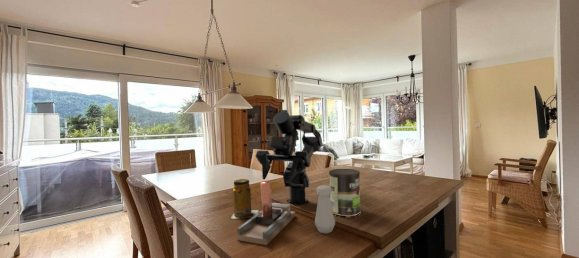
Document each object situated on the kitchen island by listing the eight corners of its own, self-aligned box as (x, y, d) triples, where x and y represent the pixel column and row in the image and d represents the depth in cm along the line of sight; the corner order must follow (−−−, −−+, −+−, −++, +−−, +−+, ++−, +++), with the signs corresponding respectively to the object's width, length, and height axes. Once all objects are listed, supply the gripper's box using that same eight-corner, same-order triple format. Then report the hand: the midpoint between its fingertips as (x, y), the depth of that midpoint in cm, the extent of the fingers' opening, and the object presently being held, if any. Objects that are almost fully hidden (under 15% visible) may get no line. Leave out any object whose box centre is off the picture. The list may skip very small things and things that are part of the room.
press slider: (265, 215, 82) (264, 178, 81) (282, 218, 79) (281, 179, 79) (255, 223, 76) (254, 182, 75) (273, 225, 74) (272, 184, 73)
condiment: (235, 211, 92) (234, 178, 91) (258, 210, 92) (257, 177, 91) (230, 219, 84) (229, 183, 84) (255, 218, 84) (254, 182, 84)
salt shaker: (313, 226, 76) (312, 184, 76) (332, 225, 77) (331, 183, 76) (317, 235, 70) (316, 189, 70) (337, 234, 71) (336, 188, 70)
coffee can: (365, 210, 88) (365, 170, 87) (351, 220, 80) (350, 176, 80) (340, 204, 95) (339, 167, 94) (324, 212, 87) (323, 172, 87)
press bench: (271, 212, 89) (270, 200, 88) (295, 215, 85) (294, 203, 85) (237, 239, 69) (236, 224, 69) (266, 245, 66) (265, 228, 66)
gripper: (256, 127, 90) (240, 164, 80) (306, 126, 83) (295, 167, 73) (267, 147, 97) (254, 182, 88) (314, 147, 90) (305, 186, 81)
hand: (275, 179), depth 82 cm, fingers open, 9 cm apart
